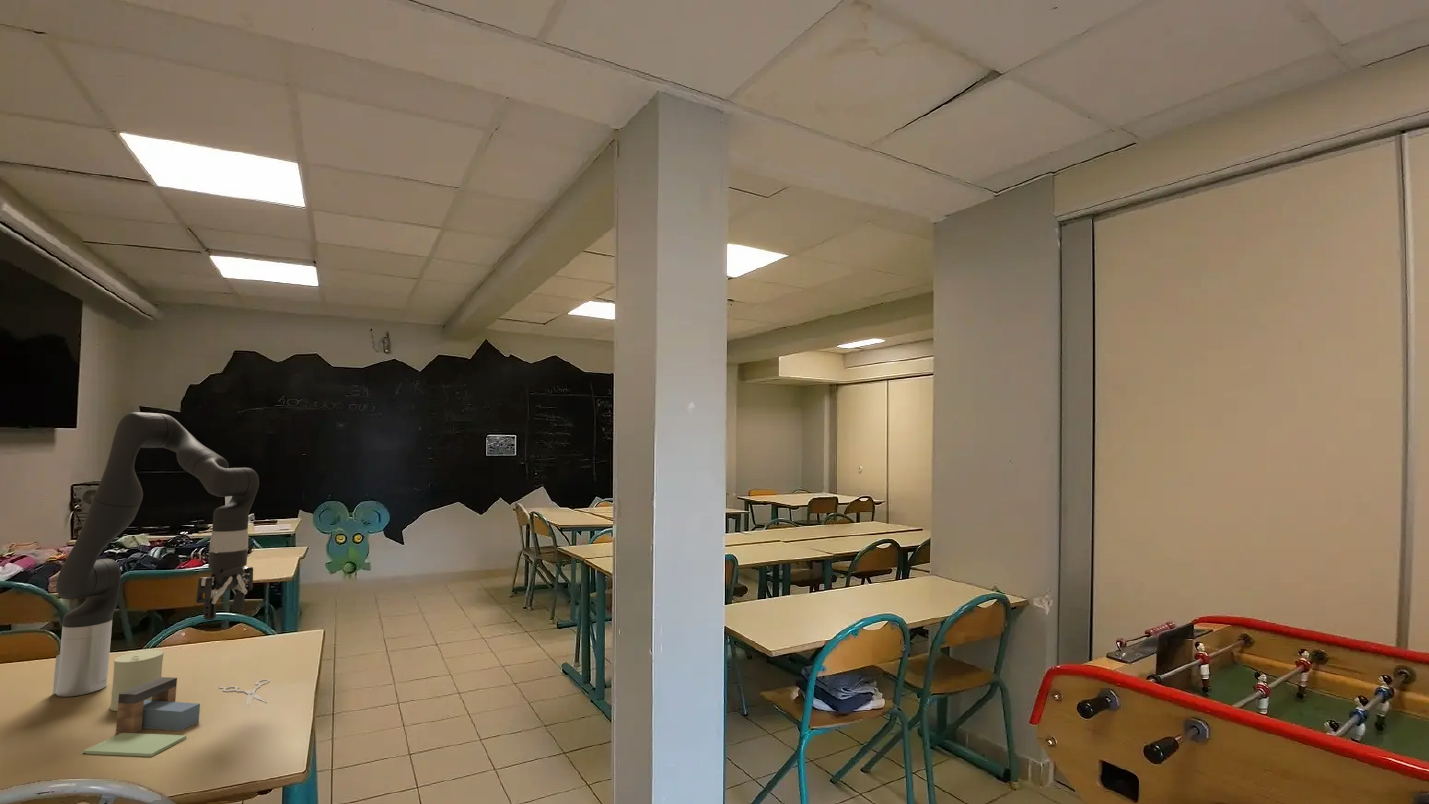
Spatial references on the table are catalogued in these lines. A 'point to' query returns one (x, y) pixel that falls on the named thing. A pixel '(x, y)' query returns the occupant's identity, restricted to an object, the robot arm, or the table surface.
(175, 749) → the table surface
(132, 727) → the block arch
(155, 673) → the can
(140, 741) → the pad
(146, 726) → the blue slab
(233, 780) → the table surface
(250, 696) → the scissors
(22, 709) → the table surface
